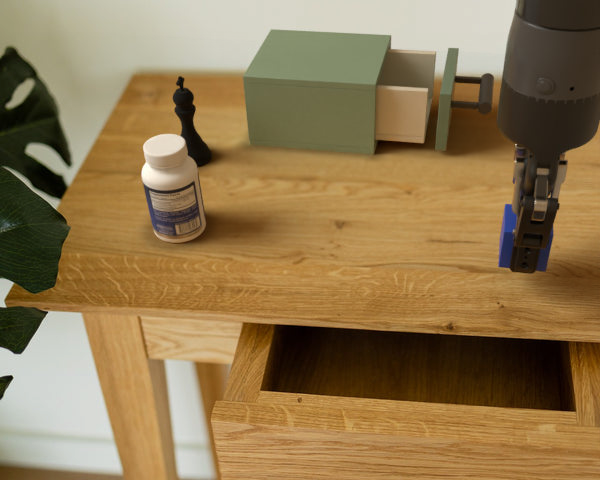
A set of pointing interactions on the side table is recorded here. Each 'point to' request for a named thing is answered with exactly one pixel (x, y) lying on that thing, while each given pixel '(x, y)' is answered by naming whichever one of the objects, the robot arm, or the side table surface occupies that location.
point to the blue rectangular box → (507, 242)
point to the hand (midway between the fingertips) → (522, 252)
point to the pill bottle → (172, 189)
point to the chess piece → (190, 125)
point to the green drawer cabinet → (315, 90)
